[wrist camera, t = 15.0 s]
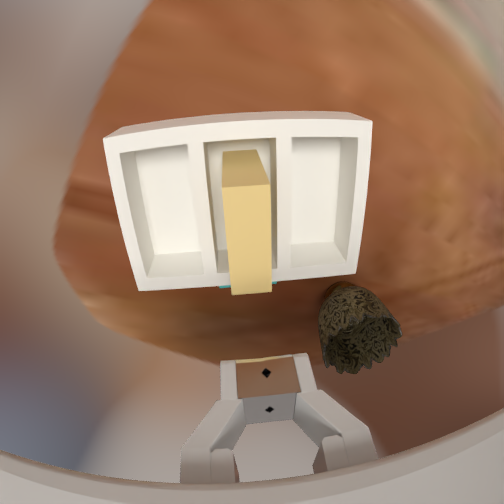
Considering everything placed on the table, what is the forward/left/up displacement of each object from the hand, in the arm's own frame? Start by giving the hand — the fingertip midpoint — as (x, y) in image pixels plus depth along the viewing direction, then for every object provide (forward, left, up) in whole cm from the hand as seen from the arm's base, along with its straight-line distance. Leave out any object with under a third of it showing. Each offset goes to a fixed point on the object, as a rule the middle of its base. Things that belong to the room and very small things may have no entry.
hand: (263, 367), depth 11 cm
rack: (0, 0, -18) cm, 18 cm away
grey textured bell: (-10, +12, -18) cm, 24 cm away
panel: (0, 0, -17) cm, 17 cm away
